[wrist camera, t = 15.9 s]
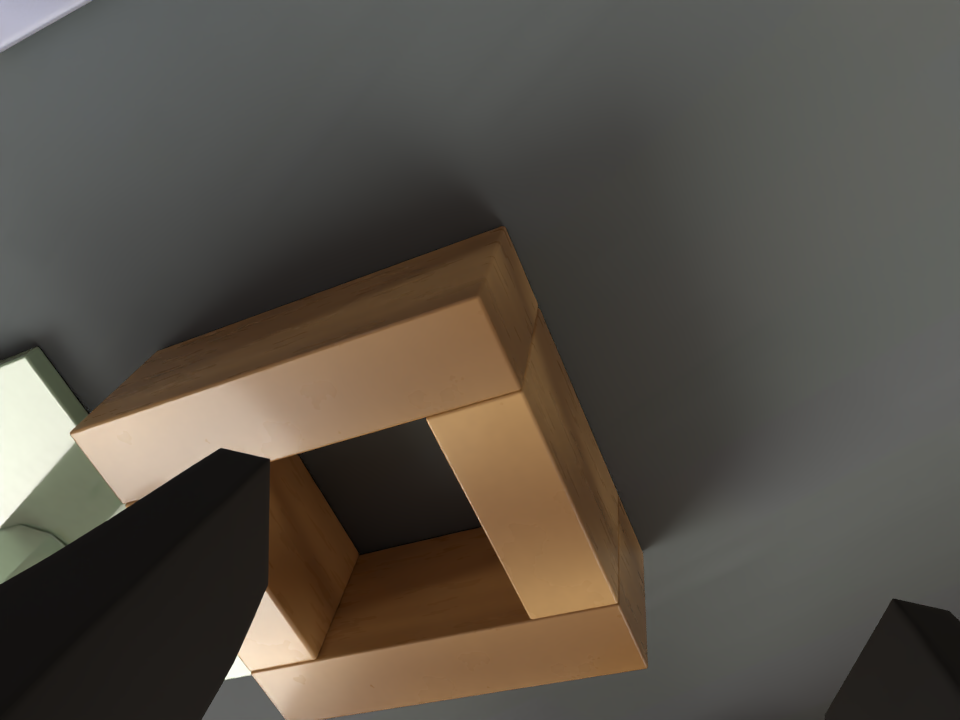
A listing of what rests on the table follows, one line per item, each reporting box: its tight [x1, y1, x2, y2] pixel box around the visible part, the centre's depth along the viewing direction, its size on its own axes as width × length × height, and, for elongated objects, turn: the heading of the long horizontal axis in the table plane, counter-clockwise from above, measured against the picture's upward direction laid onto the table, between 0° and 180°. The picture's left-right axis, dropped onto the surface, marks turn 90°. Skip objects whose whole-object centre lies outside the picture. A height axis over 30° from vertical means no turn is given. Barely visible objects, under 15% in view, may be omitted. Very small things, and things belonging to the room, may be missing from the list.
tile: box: [0, 347, 251, 680], centre depth 25 cm, size 13×9×1 cm
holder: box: [70, 226, 648, 720], centre depth 20 cm, size 10×10×4 cm
